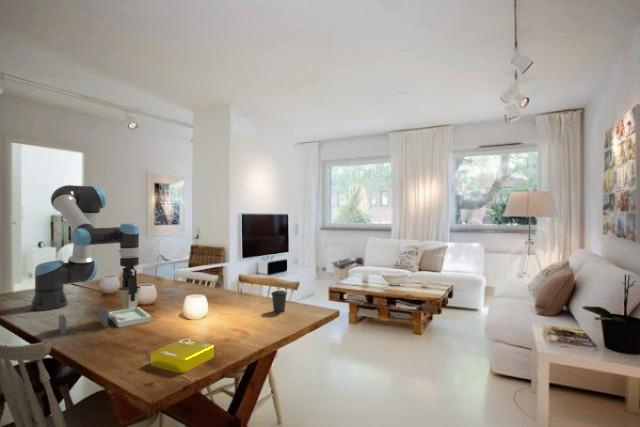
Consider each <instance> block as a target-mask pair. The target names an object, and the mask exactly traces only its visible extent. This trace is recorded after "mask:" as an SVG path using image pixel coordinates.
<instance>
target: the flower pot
mask: <svg viewBox="0 0 640 427" xmlns="http://www.w3.org/2000/svg"><path fill="white" fill-rule="evenodd" d="M141 288H142V287H141V286H140V285H137V293H136V307H137V306H138V303H139V294H140V291H141ZM117 291H118V294H119V299H120V303H121V308H123V309H129V295H128V293H129V287H119V288H117ZM132 291H133V290H132Z"/></svg>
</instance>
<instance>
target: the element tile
mask: <svg viewBox="0 0 640 427" xmlns="http://www.w3.org/2000/svg"><path fill="white" fill-rule="evenodd" d="M214 357H215V345H214V344H213V343H209V342H205V341H201V340H196V339H191V338H187V337H186V338H182V339H179V340H177V341H174V342H172V343H169V344H167V345H164V346H162V347H160V348H157V349H155V350H152V351H151V352H150V365H151V366H152V367H155V368H159V369H161V370H166V371H168V372H173V373H175V374H184V373H186V372H188V371H191V370H193V369H195V368H196V367H198V366H200V365H202V364H204V363H206V362H207V361H210V360H211V359H213V358H214Z"/></svg>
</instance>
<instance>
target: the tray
mask: <svg viewBox="0 0 640 427" xmlns="http://www.w3.org/2000/svg"><path fill="white" fill-rule="evenodd" d="M108 319H109V320H111V321H112V323H113V324H114V325H115V326H116V328H117V327H118V328H123V327H129V326H133V325H139V324H144V323H149V322H152V315H151V314H149V312H146V311H145V310H143V308H141V307H139V306H138V307H137V306H136V308H131V309H129V308H124V309H120V310H115V311H108Z"/></svg>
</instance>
